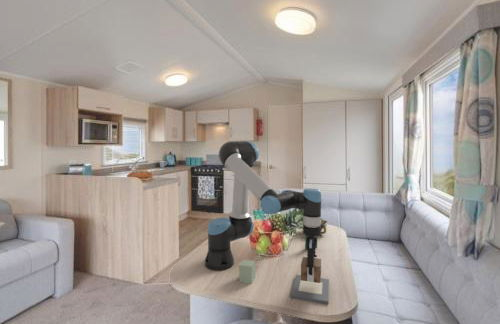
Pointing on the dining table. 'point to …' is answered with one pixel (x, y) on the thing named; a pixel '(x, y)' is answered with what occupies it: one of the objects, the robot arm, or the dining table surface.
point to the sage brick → (247, 271)
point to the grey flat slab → (311, 290)
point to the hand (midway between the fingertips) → (311, 276)
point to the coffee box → (306, 242)
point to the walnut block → (316, 269)
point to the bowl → (323, 225)
